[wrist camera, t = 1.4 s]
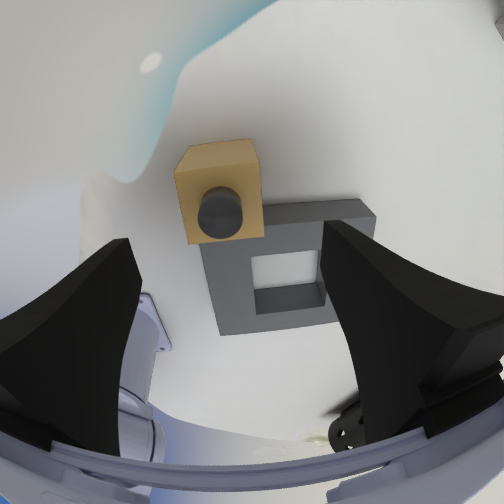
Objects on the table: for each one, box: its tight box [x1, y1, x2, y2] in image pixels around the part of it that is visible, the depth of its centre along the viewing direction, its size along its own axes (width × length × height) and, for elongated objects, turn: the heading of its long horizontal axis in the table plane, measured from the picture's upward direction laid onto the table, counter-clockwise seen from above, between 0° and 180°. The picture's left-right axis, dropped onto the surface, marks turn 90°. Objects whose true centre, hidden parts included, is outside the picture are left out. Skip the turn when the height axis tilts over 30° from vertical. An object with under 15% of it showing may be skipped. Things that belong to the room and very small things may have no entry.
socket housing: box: [199, 199, 376, 336], centre depth 22 cm, size 12×10×3 cm
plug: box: [174, 139, 264, 245], centre depth 16 cm, size 4×4×8 cm
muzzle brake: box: [328, 400, 366, 453], centre depth 33 cm, size 10×28×10 cm, turn 153°
